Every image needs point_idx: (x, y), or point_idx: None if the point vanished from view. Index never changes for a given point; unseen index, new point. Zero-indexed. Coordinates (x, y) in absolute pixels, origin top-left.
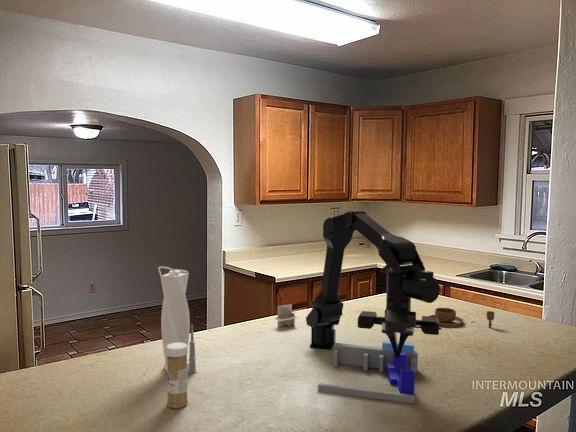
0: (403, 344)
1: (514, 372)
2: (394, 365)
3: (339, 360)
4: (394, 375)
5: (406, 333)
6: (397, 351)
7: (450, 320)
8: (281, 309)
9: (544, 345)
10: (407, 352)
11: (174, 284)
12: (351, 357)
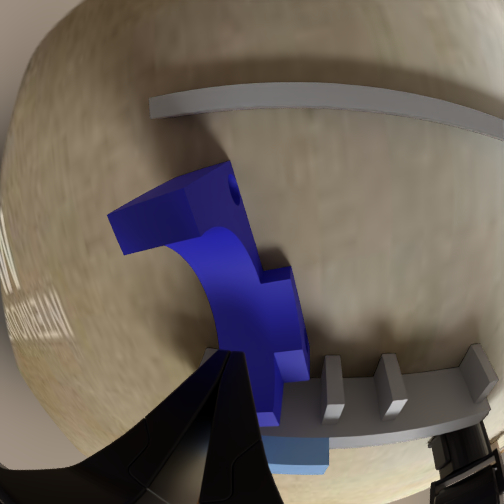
0: (130, 429)
1: (47, 368)
2: (274, 364)
3: (460, 375)
4: (273, 311)
5: (3, 499)
6: (214, 386)
7: (199, 496)
8: None
9: (73, 431)
10: None
11: None
12: (432, 392)
